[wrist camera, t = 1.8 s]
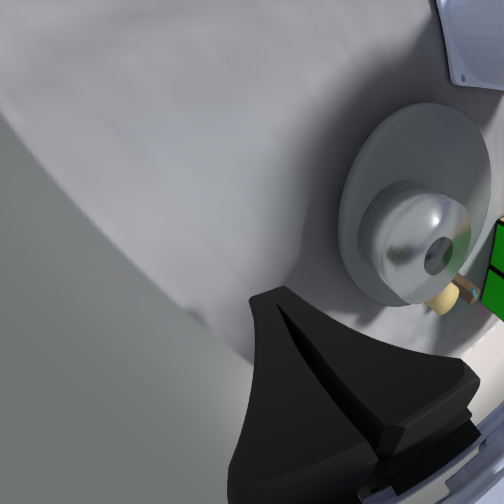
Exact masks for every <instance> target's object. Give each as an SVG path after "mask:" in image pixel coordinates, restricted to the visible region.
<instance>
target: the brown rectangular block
mask: <svg viewBox="0 0 504 504" xmlns="http://www.w3.org/2000/svg"><path fill="white" fill-rule="evenodd" d="M451 283H453V284H454V285H455V286H456V287H458V289H459V295H460V296H461V297H462V298H463V299H464V300H466V301H467V302H468V303H469V304H470V305H471V304H472V303H474V302H475V301H477V300H478V297H479V293H480V289H479V288H477V287H476V286H475V285H474V284H472V283H471V282H470V281H468V280H467V279H466V278H464V277H463V276H462V275H460V274H459V273H457V274H456V276H455V277H454V279H453V280H452V281H451Z"/></svg>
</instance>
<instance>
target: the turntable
mask: <svg viewBox="0 0 504 504" xmlns="http://www.w3.org/2000/svg"><path fill="white" fill-rule="evenodd" d="M401 180H410V181H414V182H416V183H418V184H421V185H423V186H425V187H427V188H429V189H432V190H434V191H436V192H438V193H440V194H442V195H444V196H447V197H449V198H451V199H453V200H455V201H457V202H459V203H461V204H462V205H463V206H464V207H465V208H466V209H467V211H468V213H469V216H470V220H471V239H470V244H469V248H468V252H467V254H466V257H465V259H464V262H463V264H464V263H465V261H466V260H467V258H468V257H469V255H470V253H471V252H472V250H473V248H474V246H475V244H476V242H477V240H478V238H479V236H480V233H481V231H482V228H483V225H484V222H485V219H486V215H487V211H488V207H489V201H490V194H491V167H490V160H489V155H488V151H487V148H486V145H485V142H484V140H483V137H482V135H481V133H480V131H479V130H478V128H477V127H476V125H475V124H474V123H473V122H472V120H471V119H470V118H469V117H468V116H466V115H465V114H464V113H463V112H461V111H459V110H458V109H456V108H453V107H450V106H447V105H442V104H435V103H416V104H411V105H408V106H405V107H403V108H401V109H399V110H397V111H395V112H394V113H392V114H391V115H389V116H388V117H387V118H386V119H384V120H383V121H382V122H381V123H380V124H379V125H378V126H377V127H376V128H375V129H374V130H373V131H372V133H371V134H370V135H369V137H368V138H367V140H366V141H365V142H364V144H363V145H362V147H361V149H360V150H359V152H358V154H357V156H356V158H355V159H354V162H353V164H352V166H351V169H350V171H349V173H348V176H347V179H346V182H345V185H344V189H343V193H342V197H341V202H340V207H339V217H338V241H339V249H340V253H341V257H342V261H343V264H344V266H345V268H346V271H347V273H348V274H349V276H350V277H351V279H352V280H353V281H354V283H355V284H356V285H357V286H358V287H359V288H360V289H361V290H362V291H363V292H364V293H365V294H366V295H367V296H368V297H369V298H371V299H372V300H373V301H375V302H377V303H379V304H382V305H385V306H391V307H401V306H407V305H411V304H409V303H407V302H405V301H404V300H402V299H401V298H400V297H399V296H398V295H397V294H396V293H395V292H394V291H393V290H392V289H391V288H390V287H389V286H387V285H386V284H385V283H384V282H383V281H382V280H381V279H380V278H379V277H378V276H377V275H376V274H374V273H373V272H372V271H371V270H370V269H369V268H368V267H367V266H366V265H365V264H364V263H363V261H362V260H361V257H360V255H359V251H358V243H357V241H358V231H359V226H360V223H361V220H362V217H363V215H364V213H365V211H366V209H367V207H368V205H369V204H370V202H371V201H372V200H373V198H374V197H375V196H376V195H377V194H378V193H379V192H380V191H381V190H382V189H383V188H385V187H386V186H388V185H390V184H391V183H394V182H396V181H401ZM463 264H462V265H463ZM461 267H462V266H461ZM458 295H459V289H458V287H456V286H455V285H454V284H453V283H451V282H450V284H449V285H448V286H447V287H446V288H445V289H444V290H443V291H442V292H441V293H439V294H438V295H437V296H435V297H434V298H432V299H431V300H429V301H427V302H425V303H426V304H427V305H428V306H429V307H430V308H431V309H433V310H434V311H435V312H436V313H437V314H438V315H443V314H445V313H447V312H448V311H449V310H450V309H451V308H452V307H453V305H454V304H455V302H456V300H457V298H458Z"/></svg>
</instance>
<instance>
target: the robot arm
mask: <svg viewBox="0 0 504 504" xmlns="http://www.w3.org/2000/svg"><path fill="white" fill-rule="evenodd" d="M436 3H437V7H438V11H439V15H440V19H441V24H442V28H443V33H444V39H445V44H446V50H447V56H448V63H449V71H450V78H451V81H452V83H453V84H454V85H459V86H470V87H480V88H488V89H496V90H502V91H504V0H436ZM249 304H250V308H251V311H252V315H253V319H254V330H255V359H254V371H253V380H252V387H251V392H250V398H249V403H248V408H247V412H246V416H245V420H244V423H243V427H242V430H241V434H240V437H239V440H238V443H237V446H236V449H235V452H234V454H233V457H232V460H231V462H230V465H229V468H228V481H227V498H228V504H398V503H400V502H401V501H403V500H405V499H406V498H408V497H410V496H412V495H413V494H415V493H416V492H418V491H419V490H421V489H423V488H424V487H426V486H427V485H429V484H430V483H432V482H433V481H434V480H436V479H437V478H439V477H440V476H442V475H443V474H444V473H446V472H447V471H448V470H450V469H451V468H452V467H454V466H455V465H456V464H458V463H459V462H460V461H461V460H463V459H464V458H465V457H466V456H468V455H469V454H470V453H471V452H472V451H473V450H475V449H476V448H477V447H478V446H479V445H480V446H479V453H478V454H477V455H475V456H474V457H473V458H472V459H471V460H470V461H469V462H467V463H466V464H465V465H464V466H463V467H462V468H461V469H460V470H458V471H457V472H456V473H455V474H454V475H452V476H451V477H450V478H449V479H447V480H446V481H445V484H446V486H447V488H448V489H449V493H447V494H446V495H445V496H443V497H442V498H440V499H439V500H438V501H436V502H435V503H433V504H504V401H503V402H502V403H501V404H500V405H499V406H498V407H497V408H495V410H493V411H492V412H491V413H490V414H489V415H488V416H487V417H486V418H485V419H484V420H482V421H481V422H480V423H479V424H478V425H477V426H475V425H474V424H473V423H472V421H471V420H470V418H471V417H472V413H471V412H470V411H469V410H468V408H467V406H468V405H469V403H470V402H471V400H472V398H473V397H474V395H475V394H476V392H477V390H478V388H479V386H480V378H479V377H478V376H477V375H476V374H475V372H474V371H473V370H472V369H471V368H470V367H469V366H468V365H467V364H466V363H465V362H464V361H463V360H462V359H460V358H452V357H444V356H436V355H430V354H425V353H420V352H416V351H411V350H408V349H404V348H401V347H397V346H394V345H391V344H388V343H385V342H382V341H379V340H376V339H374V338H371V337H369V336H367V335H364V334H362V333H360V332H357V331H355V330H353V329H351V328H349V327H347V326H345V325H344V324H342V323H340V322H338V321H336V320H334V319H333V318H331V317H329V316H328V315H326V314H324V313H323V312H321V311H320V310H318V309H317V308H315V307H313V306H312V305H310V304H309V303H308V302H306V301H305V300H303V299H302V298H300V297H299V296H298V295H296V294H295V293H294V292H292V291H291V290H290V289H289V288H287V287H285V286H281V287H278V288H275V289H272V290H270V291H267V292H264V293H261V294H258V295H255V296H252V297H251V298H250V299H249ZM358 495H359V496H358ZM359 497H360V498H359ZM360 499H361V500H360Z"/></svg>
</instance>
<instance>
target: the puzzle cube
mask: <svg viewBox="0 0 504 504" xmlns="http://www.w3.org/2000/svg"><path fill="white" fill-rule="evenodd" d="M490 264H491V265H490V266H489V267H488V272H487V276H486V280H485V284H484V288H483V292H482V295H481V299H480V301H481V303H482V304H483V305H485V306H486V307H487V308H488V309H489V310H490V311H492V312H493V313H494V314H495V315H496V316H497V317H499V318H500V319H501V320H502V321H503V322H504V217H502V218H501V219H499V220H497V223H496V230H495V236H494V242H493V247H492V252H491V258H490Z"/></svg>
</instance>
